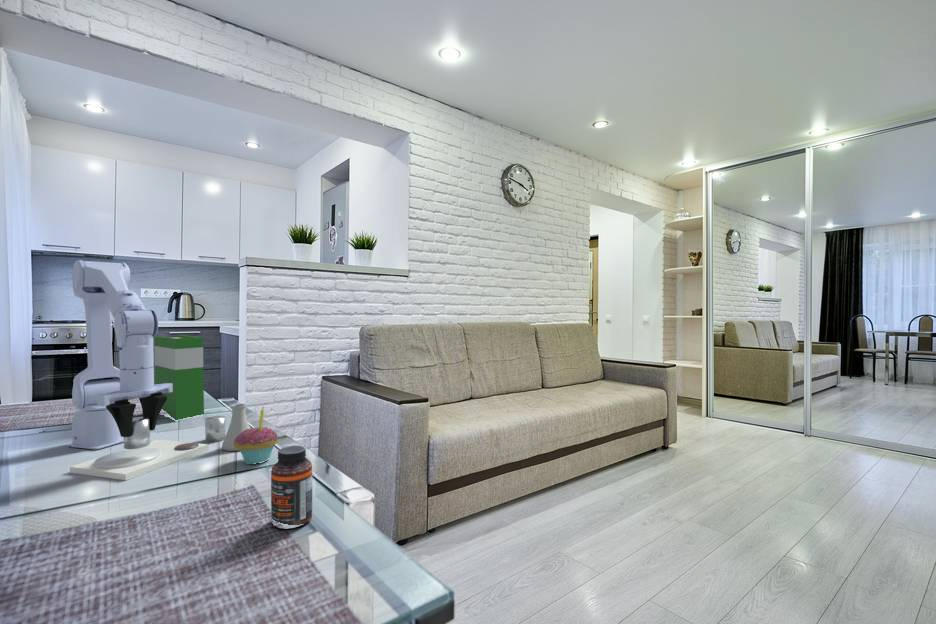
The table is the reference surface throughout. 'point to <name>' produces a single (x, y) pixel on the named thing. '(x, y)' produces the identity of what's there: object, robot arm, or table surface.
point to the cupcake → (256, 442)
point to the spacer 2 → (215, 429)
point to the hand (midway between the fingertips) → (138, 433)
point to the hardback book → (181, 374)
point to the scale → (138, 459)
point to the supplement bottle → (291, 487)
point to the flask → (235, 426)
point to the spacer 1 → (138, 434)
